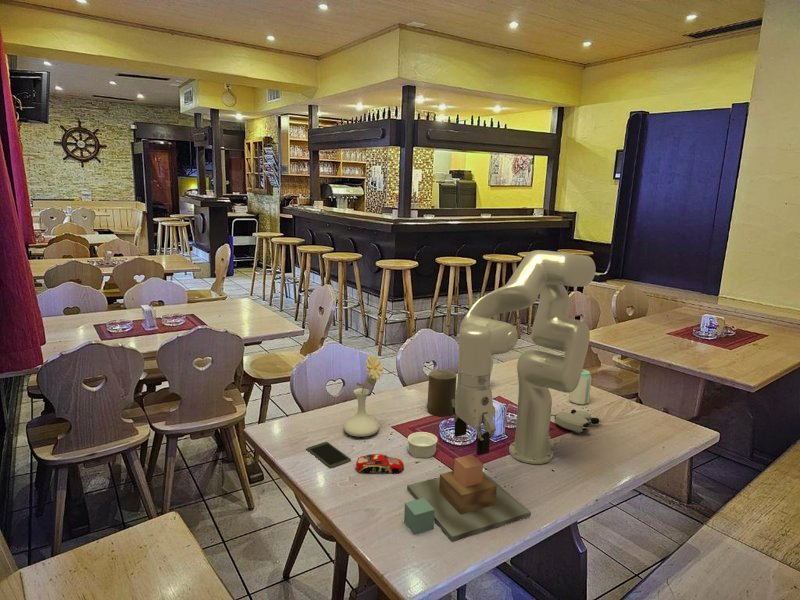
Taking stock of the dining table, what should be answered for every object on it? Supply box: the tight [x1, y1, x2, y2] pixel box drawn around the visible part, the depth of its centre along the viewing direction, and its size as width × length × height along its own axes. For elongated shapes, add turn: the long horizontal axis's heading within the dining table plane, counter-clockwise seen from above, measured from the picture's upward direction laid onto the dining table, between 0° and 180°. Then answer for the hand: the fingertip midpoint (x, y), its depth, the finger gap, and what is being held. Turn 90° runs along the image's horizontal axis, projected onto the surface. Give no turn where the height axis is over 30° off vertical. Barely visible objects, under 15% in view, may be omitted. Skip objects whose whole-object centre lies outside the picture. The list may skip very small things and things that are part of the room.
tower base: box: [406, 470, 532, 542], centre depth 127 cm, size 22×22×6 cm
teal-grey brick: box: [403, 498, 435, 535], centre depth 118 cm, size 5×5×5 cm
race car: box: [355, 453, 405, 475], centre depth 141 cm, size 13×5×4 cm, turn 90°
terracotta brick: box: [453, 454, 484, 487], centre depth 125 cm, size 5×5×5 cm
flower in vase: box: [342, 354, 384, 438], centre depth 161 cm, size 13×11×25 cm
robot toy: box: [551, 409, 603, 434], centre depth 171 cm, size 12×4×15 cm
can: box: [568, 368, 592, 406], centre depth 190 cm, size 7×7×12 cm
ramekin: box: [407, 431, 439, 459], centre depth 151 cm, size 9×9×4 cm
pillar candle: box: [426, 369, 458, 417], centre depth 179 cm, size 10×10×15 cm
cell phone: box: [306, 441, 352, 469], centre depth 148 cm, size 7×14×1 cm, turn 39°
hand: (471, 444), depth 124 cm, fingers open, 9 cm apart
